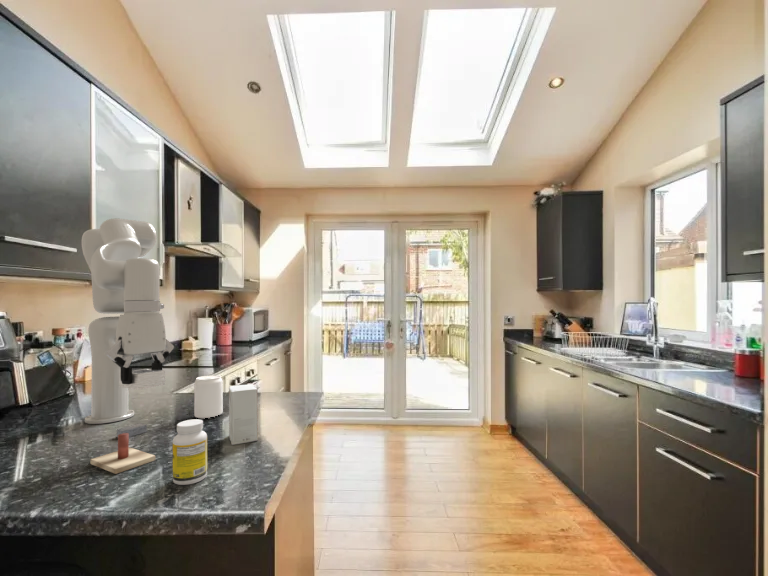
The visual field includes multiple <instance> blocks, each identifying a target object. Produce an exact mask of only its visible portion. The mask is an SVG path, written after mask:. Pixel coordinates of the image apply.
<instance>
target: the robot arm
mask: <svg viewBox="0 0 768 576" xmlns="http://www.w3.org/2000/svg"><path fill="white" fill-rule="evenodd" d="M156 242H157V232H156V229H155V226H153V224H151V223H150V222H147V221H144V220H136V219H135V220H133V219H125V218H109V219H106V220H104V221H103V222H102V223H101V224H100V226H99V228H92V229H91V228H90V229H87V230H85V231H84V232H83V234H82V236H81V250H82V254H83V257H84V259H85V262H86V264H87V266H88V269H89V271H90V275H91V290H92V292H91V293H92V294H91V295H92V304H93V308H94V311H96V312H97V313H98V314H103V315H105V314H108V315H109V314H111V315H117V314H119V315H118V316H104V317H99V318H96V319H93V320H92V321H91V322H90V324H89V325H88V329H87V331H88V332H87V334H88V338H89V343H90V344H89V345H90V352H91V354H90V355H91V393H90V394H91V398H90V399H91V404H90V405H91V406H90V409H91V410H90V411H91V412H90V413H91V414H89V415H87V416H86V417H84V423H85V424H89V425H98V424H99V425H100V424H101V425H102V424H108V423H114V422H115V423H116V422H120V421H125V420H127V419H130V418H131V417H133V416H134V415H135V410H134V409H129V396H130V395H129V392H130V391H129V389H130V388H122V387H120V373H121V381H122V384H128V385H129V384H131V383H132V371H133V368H132V367H131V366H130V365H131V363H132V361H133V358H134V357H135V356H141V355H148V354H149V355H151V357H152V360H153V362H151V369H155V370H163V363H164V362H165V361H166V358H167V357H169V355H170V353H171V352H172V351H173V350H174V349H175V346H174V344H172V342H170V341H169V339H167V338H166V337H167V336H166V328H165V321H164V315H163V313H161V312H160V311H161V310H162V309H165V304H164V303H161V301H160V295H161V294H160V292H161V291H160V287H161V286H160V282H161V281H160V280H161V279H160V264H159V262H158V260H156V259H153V258H146V257H144V256H146V255H147V254H148V253H149V252H150V251H151V250H152V249H153V248H154V247H155V245H156ZM142 257H143V258H142Z"/></svg>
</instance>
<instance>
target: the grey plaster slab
mask: <svg viewBox="0 0 768 576" xmlns="http://www.w3.org/2000/svg"><path fill="white" fill-rule="evenodd" d="M147 427H148V425H147V424H145V423H141V422H139V423H137V424H133V425H128V426H125V427H120V428H118V429H116V438H118V435H119V434H123V433H129V438H130V437H134V436H137V435H140V434H144V433H147V432H148V430H147Z"/></svg>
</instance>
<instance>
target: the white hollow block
mask: <svg viewBox="0 0 768 576" xmlns="http://www.w3.org/2000/svg"><path fill="white" fill-rule="evenodd" d="M164 385H166V370H165V369H162V370H155V369H152V368H143V369H136V370H132V383H131V384H129V385H128V384H122V381H121V373H120V387H122V388H129V389H131V390H142V389H148V388H154V387H159V386H164Z"/></svg>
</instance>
